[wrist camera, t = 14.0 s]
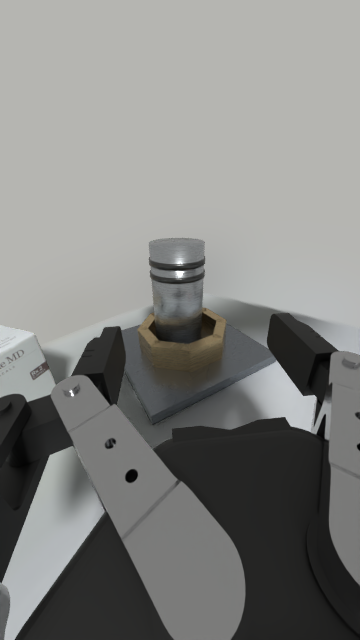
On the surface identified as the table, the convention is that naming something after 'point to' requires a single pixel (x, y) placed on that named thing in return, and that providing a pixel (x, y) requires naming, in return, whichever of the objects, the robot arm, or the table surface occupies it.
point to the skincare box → (23, 365)
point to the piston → (177, 288)
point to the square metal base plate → (188, 364)
